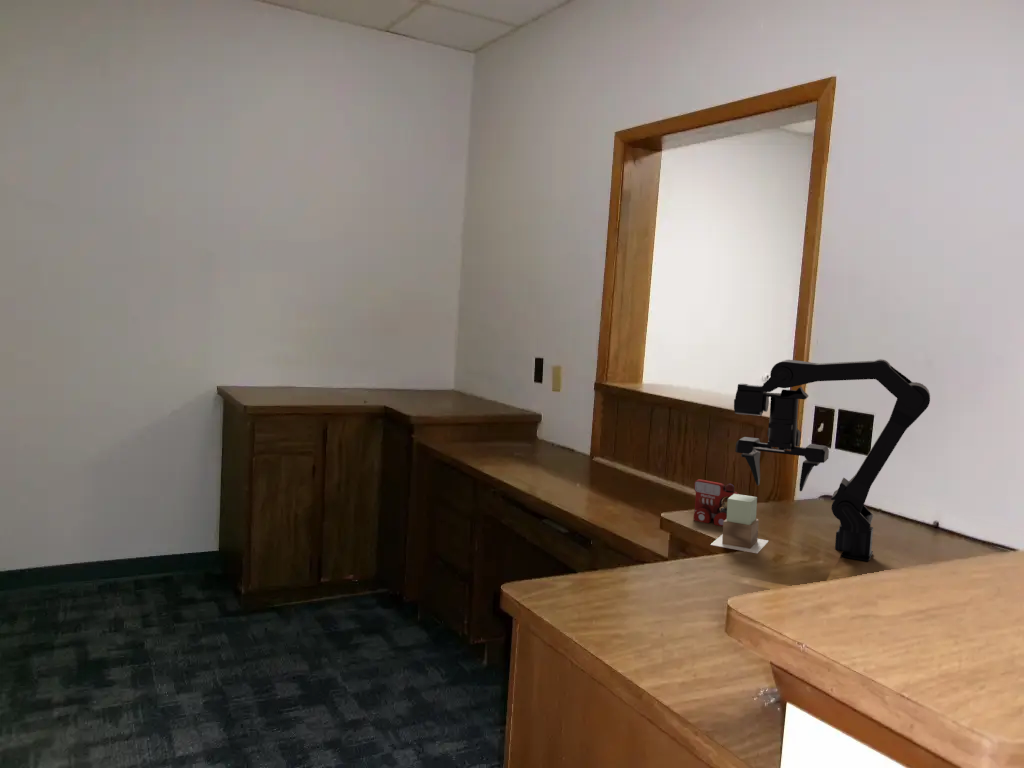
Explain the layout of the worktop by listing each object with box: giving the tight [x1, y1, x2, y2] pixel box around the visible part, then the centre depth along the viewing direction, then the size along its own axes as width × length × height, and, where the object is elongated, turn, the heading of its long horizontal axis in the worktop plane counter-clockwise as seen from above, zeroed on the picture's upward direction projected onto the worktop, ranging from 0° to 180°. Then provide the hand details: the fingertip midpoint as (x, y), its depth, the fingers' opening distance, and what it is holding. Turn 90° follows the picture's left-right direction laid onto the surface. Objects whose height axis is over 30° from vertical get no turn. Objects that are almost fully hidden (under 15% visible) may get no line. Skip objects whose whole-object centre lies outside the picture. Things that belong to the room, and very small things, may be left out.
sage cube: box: [727, 493, 758, 525], centre depth 173 cm, size 5×5×5 cm
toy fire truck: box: [693, 478, 739, 527], centre depth 189 cm, size 7×12×10 cm, turn 52°
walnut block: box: [722, 518, 760, 549], centre depth 173 cm, size 6×6×5 cm
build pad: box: [710, 533, 769, 554], centre depth 174 cm, size 10×10×1 cm
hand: (779, 487), depth 175 cm, fingers open, 9 cm apart
